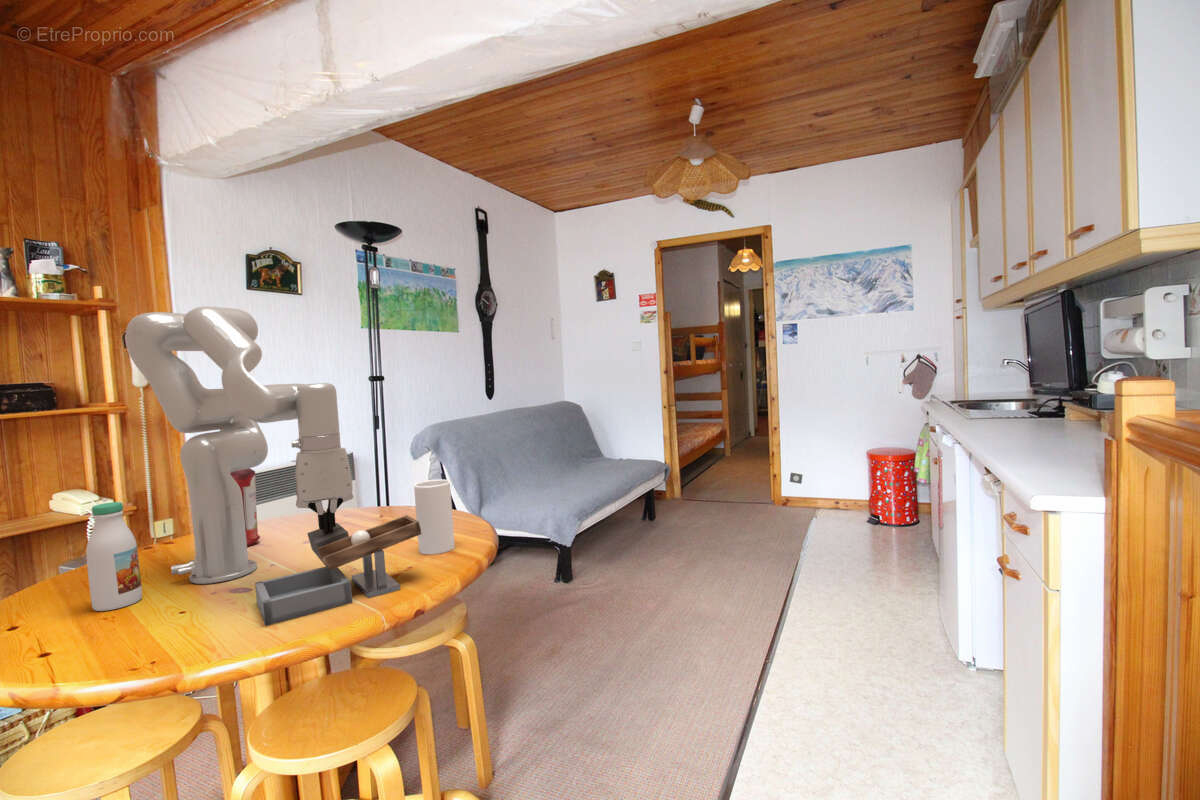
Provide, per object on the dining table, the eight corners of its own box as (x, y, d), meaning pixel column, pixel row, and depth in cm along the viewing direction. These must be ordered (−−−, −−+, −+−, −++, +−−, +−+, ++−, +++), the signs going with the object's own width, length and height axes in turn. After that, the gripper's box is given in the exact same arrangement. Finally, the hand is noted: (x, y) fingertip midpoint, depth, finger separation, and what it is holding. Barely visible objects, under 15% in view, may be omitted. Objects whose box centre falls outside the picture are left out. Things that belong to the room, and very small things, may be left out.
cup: (449, 553, 135) (444, 485, 134) (414, 555, 136) (408, 487, 135) (458, 542, 144) (453, 478, 143) (425, 544, 144) (420, 480, 143)
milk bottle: (101, 615, 110) (89, 510, 109) (85, 608, 114) (74, 507, 113) (149, 600, 116) (139, 501, 115) (133, 593, 120) (123, 498, 119)
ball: (352, 533, 113) (371, 530, 115) (348, 530, 116) (366, 527, 118) (353, 551, 114) (372, 547, 116) (349, 547, 116) (367, 544, 118)
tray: (265, 625, 101) (263, 603, 100) (257, 603, 111) (255, 582, 111) (352, 602, 109) (350, 581, 109) (336, 583, 120) (335, 564, 119)
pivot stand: (368, 598, 111) (364, 556, 110) (351, 580, 121) (348, 542, 121) (400, 589, 114) (397, 549, 114) (381, 572, 125) (378, 535, 124)
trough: (395, 518, 134) (391, 503, 133) (422, 534, 119) (417, 517, 119) (312, 549, 124) (307, 533, 123) (329, 571, 109) (324, 552, 108)
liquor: (235, 542, 155) (225, 438, 154) (265, 539, 157) (255, 435, 155) (224, 550, 148) (213, 441, 147) (256, 547, 150) (246, 438, 148)
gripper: (281, 450, 112) (289, 543, 113) (363, 440, 121) (370, 528, 122) (276, 446, 118) (284, 535, 119) (354, 438, 127) (361, 521, 128)
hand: (327, 531), depth 121 cm, fingers closed
